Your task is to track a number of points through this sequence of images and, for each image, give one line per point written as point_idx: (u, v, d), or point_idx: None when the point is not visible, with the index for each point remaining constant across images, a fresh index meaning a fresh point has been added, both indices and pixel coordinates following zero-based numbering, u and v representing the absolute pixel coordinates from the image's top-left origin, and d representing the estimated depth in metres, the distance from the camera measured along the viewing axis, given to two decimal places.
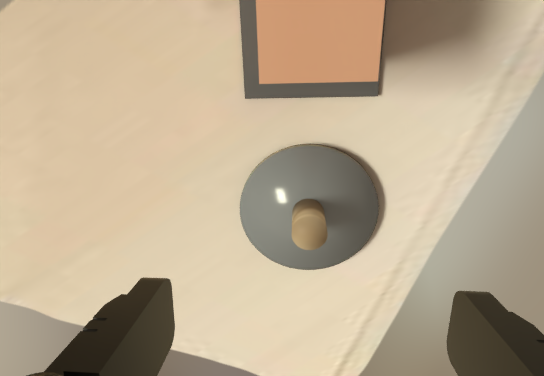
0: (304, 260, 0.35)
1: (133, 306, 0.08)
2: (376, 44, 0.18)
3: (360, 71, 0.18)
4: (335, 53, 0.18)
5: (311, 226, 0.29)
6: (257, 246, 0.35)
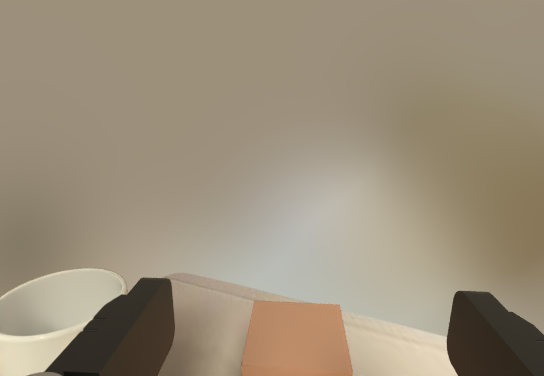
0: None
1: (133, 306, 0.08)
2: (314, 305, 0.26)
3: (333, 312, 0.25)
4: (322, 323, 0.24)
5: None
6: None
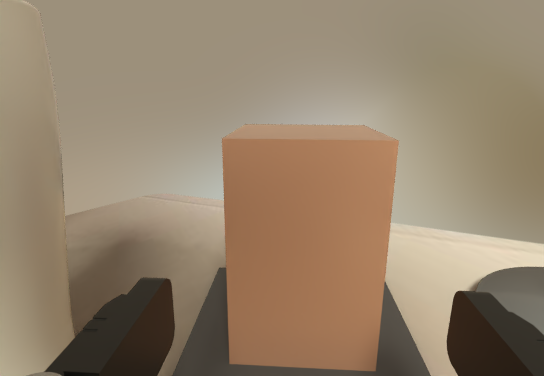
0: None
1: (133, 306, 0.08)
2: (329, 125, 0.18)
3: (357, 126, 0.18)
4: (342, 129, 0.16)
5: None
6: None
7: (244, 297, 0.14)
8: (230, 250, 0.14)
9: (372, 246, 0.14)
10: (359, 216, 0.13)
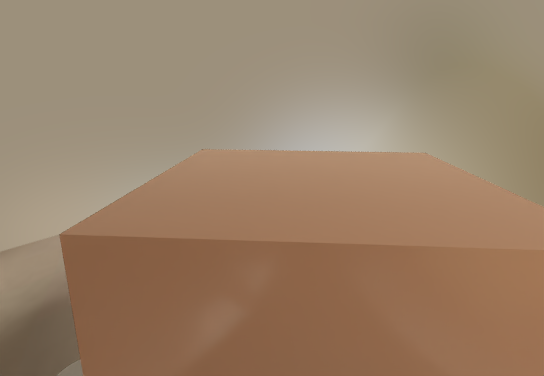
0: None
1: None
2: (360, 152, 0.10)
3: (418, 158, 0.09)
4: (396, 169, 0.08)
5: None
6: None
7: None
8: None
9: None
10: None
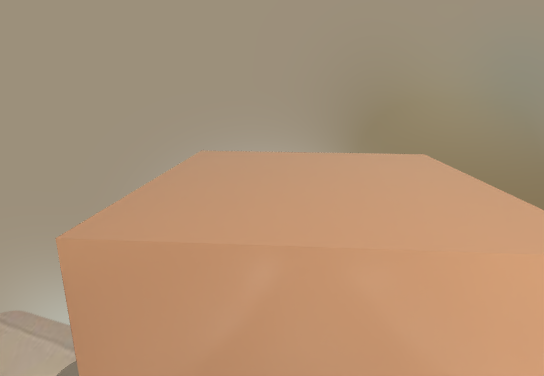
0: None
1: None
2: (359, 154, 0.10)
3: (417, 160, 0.09)
4: (395, 171, 0.08)
5: None
6: None
7: None
8: None
9: None
10: None
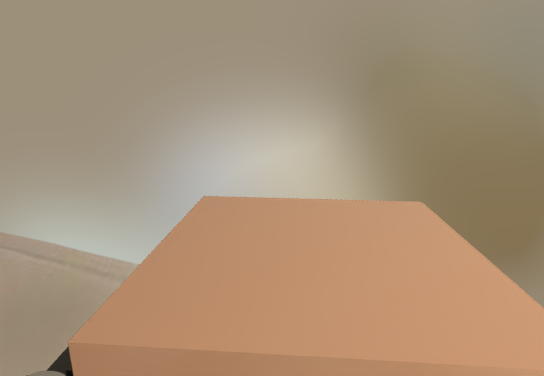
0: None
1: None
2: (357, 202, 0.10)
3: (413, 212, 0.09)
4: (391, 230, 0.08)
5: None
6: None
7: None
8: None
9: None
10: None
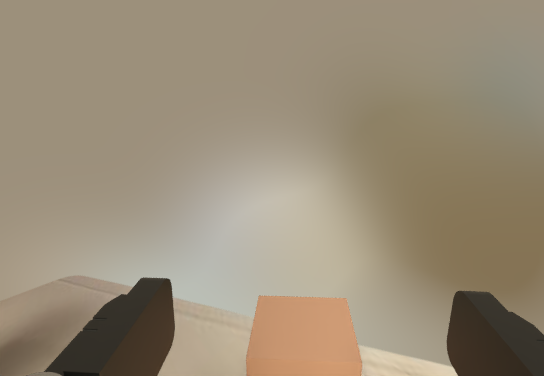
0: None
1: (133, 306, 0.08)
2: (320, 299, 0.25)
3: (340, 305, 0.24)
4: (329, 316, 0.23)
5: None
6: None
7: None
8: None
9: None
10: None
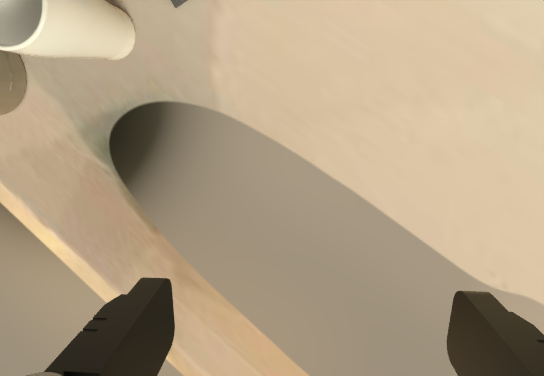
0: None
1: (133, 306, 0.08)
2: None
3: None
4: None
5: None
6: None
7: None
8: None
9: None
10: None
